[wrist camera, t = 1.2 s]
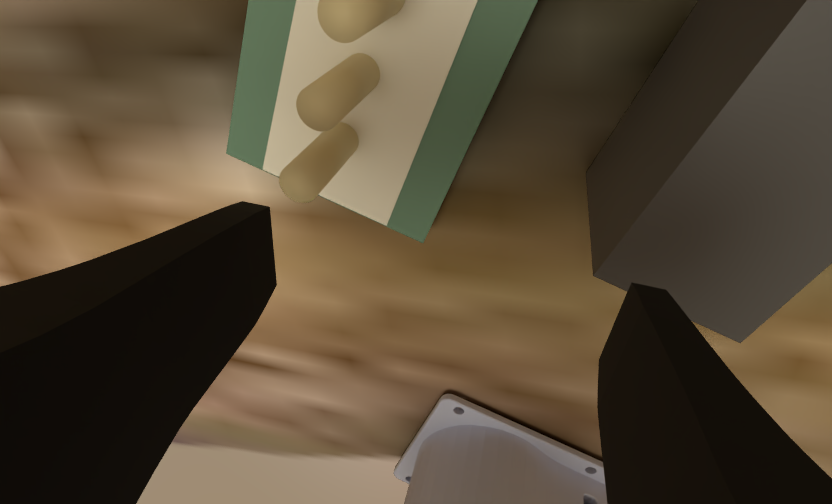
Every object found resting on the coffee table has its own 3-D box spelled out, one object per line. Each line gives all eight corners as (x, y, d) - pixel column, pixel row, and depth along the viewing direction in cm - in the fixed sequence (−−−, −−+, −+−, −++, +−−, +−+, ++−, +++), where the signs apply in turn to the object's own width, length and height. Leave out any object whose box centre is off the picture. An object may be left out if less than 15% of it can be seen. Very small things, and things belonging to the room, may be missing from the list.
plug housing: (1105, -259, 10) (1593, -405, 5) (692, 221, 18) (740, 343, 13) (924, -346, 10) (1252, -573, 5) (585, 172, 17) (593, 275, 13)
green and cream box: (559, -48, 14) (556, -31, 10) (430, 226, 20) (397, 303, 16) (294, -172, 14) (191, -201, 10) (242, 141, 20) (164, 198, 16)
